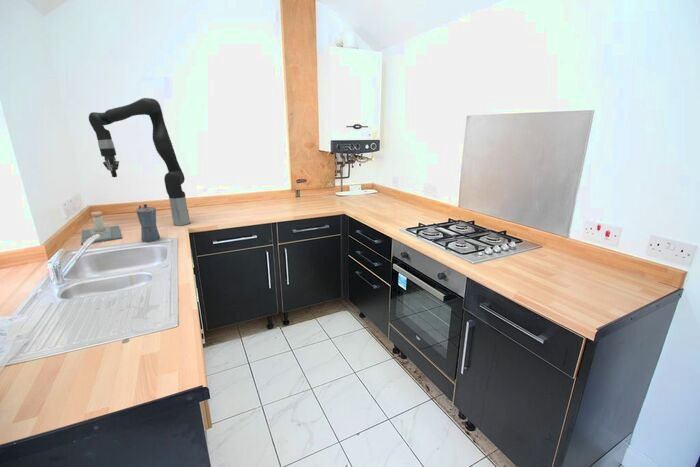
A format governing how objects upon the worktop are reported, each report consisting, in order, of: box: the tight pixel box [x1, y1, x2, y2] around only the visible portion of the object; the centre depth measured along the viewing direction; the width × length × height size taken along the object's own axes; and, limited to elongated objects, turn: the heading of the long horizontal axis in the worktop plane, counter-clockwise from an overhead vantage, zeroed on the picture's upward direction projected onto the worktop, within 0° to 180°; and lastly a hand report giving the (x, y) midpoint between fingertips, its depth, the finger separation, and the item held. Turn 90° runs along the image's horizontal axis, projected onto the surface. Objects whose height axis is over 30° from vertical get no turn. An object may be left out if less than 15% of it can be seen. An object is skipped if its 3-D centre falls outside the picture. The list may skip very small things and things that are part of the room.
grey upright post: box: [90, 210, 105, 232], centre depth 186 cm, size 5×5×13 cm
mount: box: [89, 225, 112, 241], centre depth 186 cm, size 12×9×4 cm
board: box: [80, 224, 123, 246], centre depth 193 cm, size 28×18×1 cm, turn 36°
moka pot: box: [135, 203, 161, 243], centre depth 183 cm, size 10×15×20 cm, turn 58°
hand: (114, 177), depth 206 cm, fingers closed
